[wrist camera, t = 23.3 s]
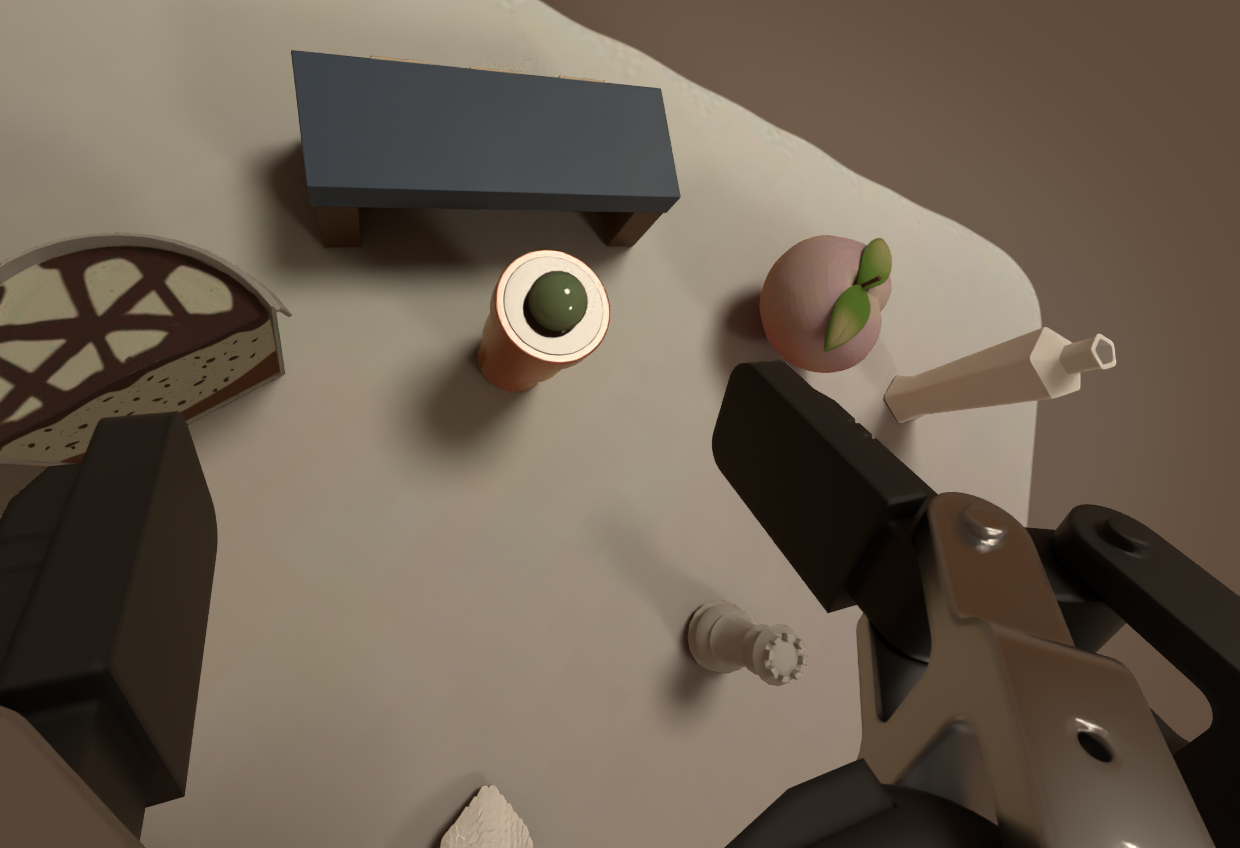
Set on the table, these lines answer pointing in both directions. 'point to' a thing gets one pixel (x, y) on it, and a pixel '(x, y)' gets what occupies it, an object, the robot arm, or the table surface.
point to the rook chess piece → (744, 644)
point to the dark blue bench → (478, 143)
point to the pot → (542, 319)
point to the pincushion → (488, 824)
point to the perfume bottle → (1001, 375)
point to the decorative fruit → (826, 301)
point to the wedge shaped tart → (124, 339)
